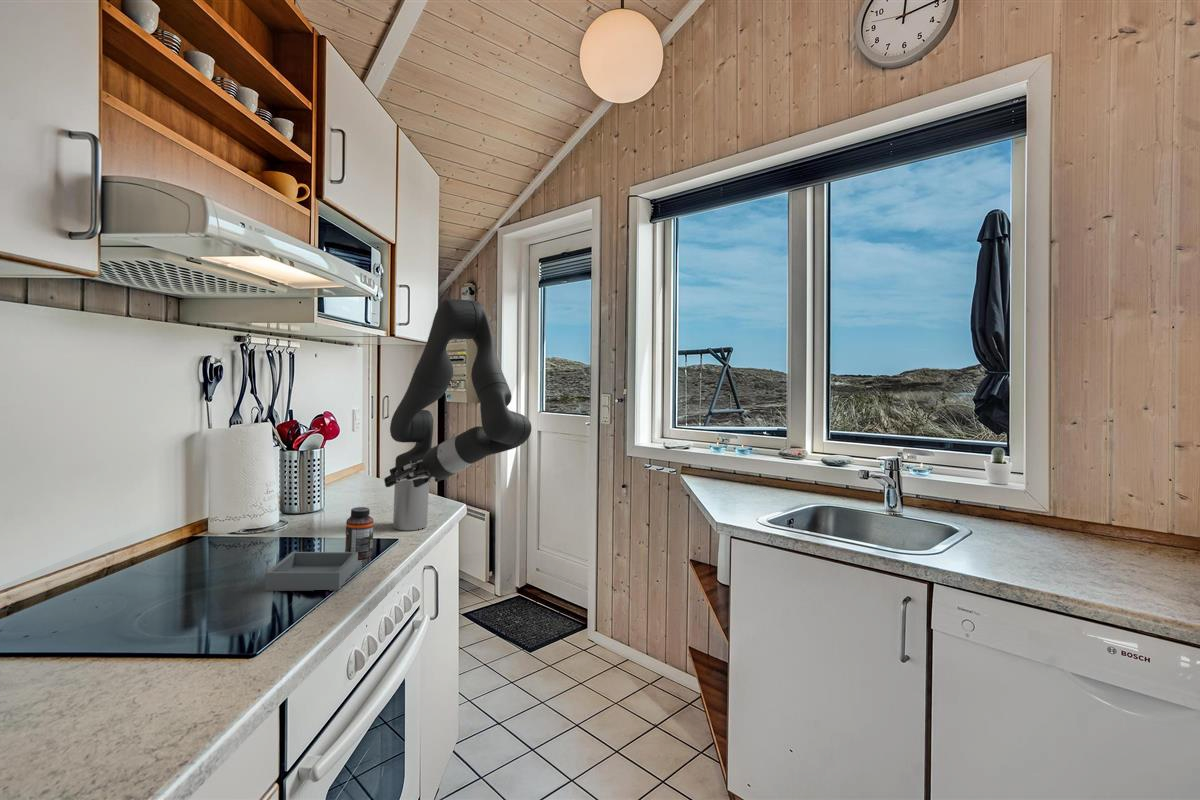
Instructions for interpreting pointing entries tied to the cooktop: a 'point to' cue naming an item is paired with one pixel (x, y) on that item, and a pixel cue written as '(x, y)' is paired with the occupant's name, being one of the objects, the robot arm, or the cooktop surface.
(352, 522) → the supplement bottle
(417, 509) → the robot arm
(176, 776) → the cooktop surface
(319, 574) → the tray
